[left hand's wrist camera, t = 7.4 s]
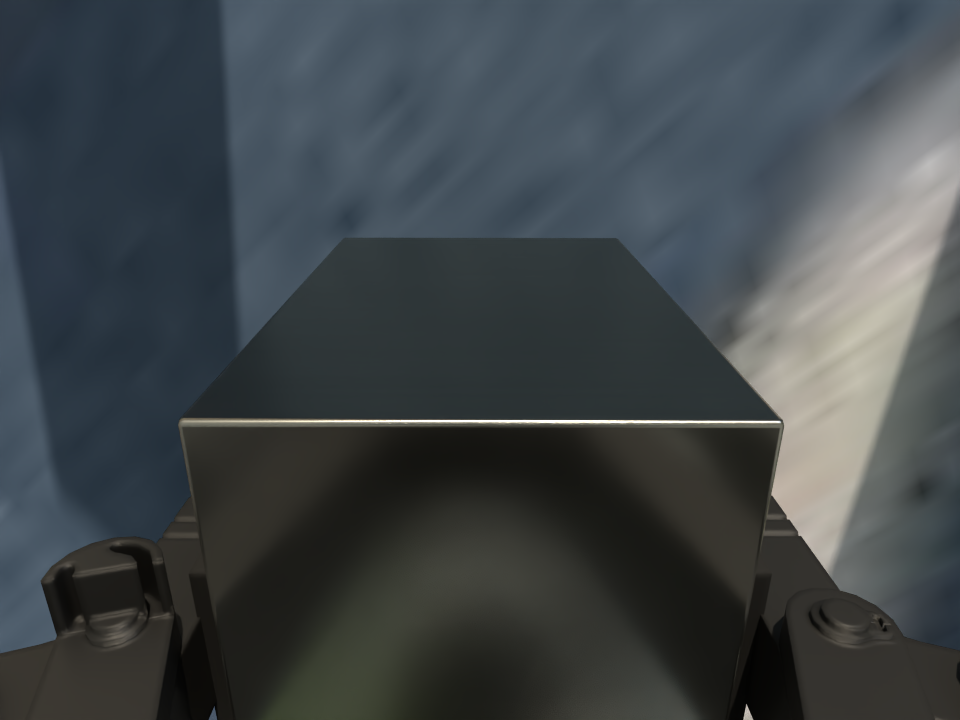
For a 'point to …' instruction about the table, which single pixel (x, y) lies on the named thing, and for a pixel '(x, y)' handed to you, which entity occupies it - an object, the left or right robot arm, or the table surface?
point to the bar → (480, 491)
